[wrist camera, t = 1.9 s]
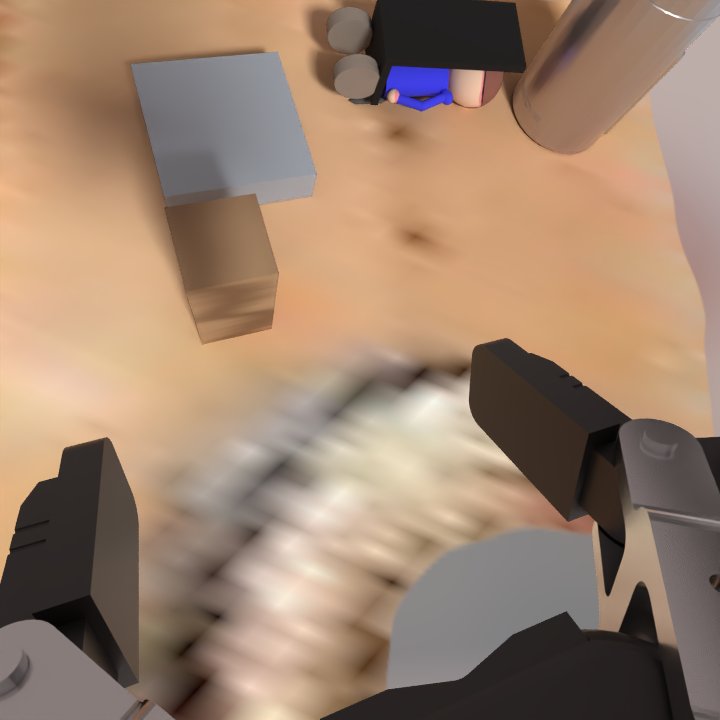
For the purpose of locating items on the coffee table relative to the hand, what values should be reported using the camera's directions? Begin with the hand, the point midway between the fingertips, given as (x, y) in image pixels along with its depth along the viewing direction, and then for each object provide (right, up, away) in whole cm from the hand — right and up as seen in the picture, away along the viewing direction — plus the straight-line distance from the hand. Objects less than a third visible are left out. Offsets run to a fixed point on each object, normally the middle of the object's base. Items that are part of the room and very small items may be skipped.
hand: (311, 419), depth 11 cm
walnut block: (-9, +5, +26) cm, 28 cm away
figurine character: (+5, +25, +35) cm, 43 cm away
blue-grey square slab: (-10, +18, +29) cm, 36 cm away
